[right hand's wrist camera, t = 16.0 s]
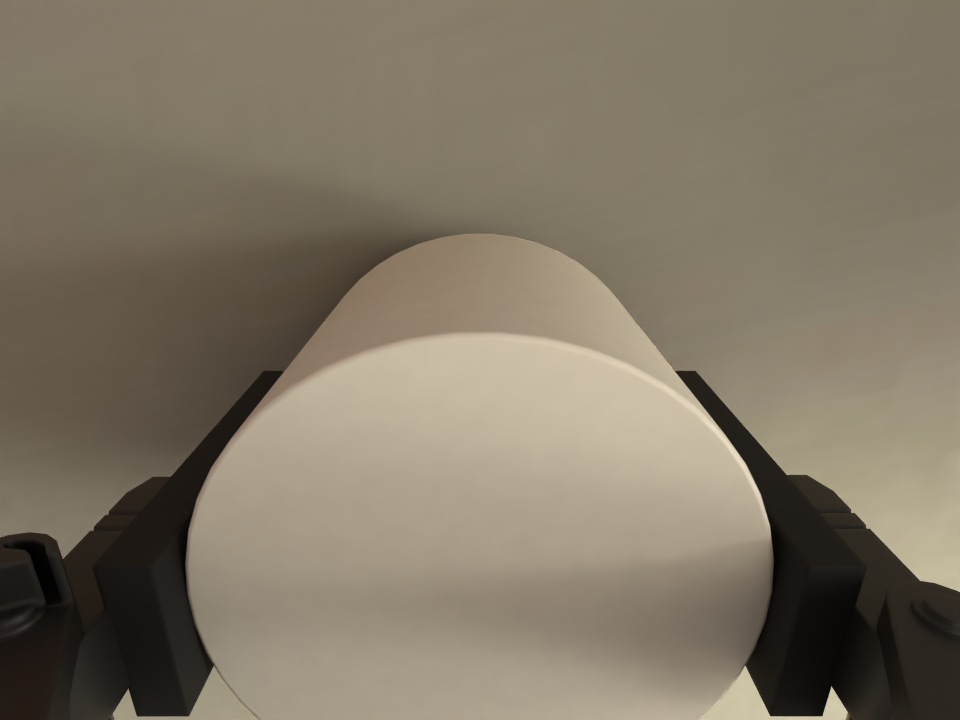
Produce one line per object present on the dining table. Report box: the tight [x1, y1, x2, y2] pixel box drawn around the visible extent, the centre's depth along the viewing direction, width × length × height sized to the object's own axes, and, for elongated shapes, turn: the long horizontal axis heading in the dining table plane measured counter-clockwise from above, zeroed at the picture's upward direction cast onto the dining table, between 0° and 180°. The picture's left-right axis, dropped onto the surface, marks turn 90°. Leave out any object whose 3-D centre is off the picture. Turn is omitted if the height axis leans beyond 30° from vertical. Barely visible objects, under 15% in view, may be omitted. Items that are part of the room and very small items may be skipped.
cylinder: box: [185, 234, 774, 720], centre depth 12 cm, size 8×8×7 cm
